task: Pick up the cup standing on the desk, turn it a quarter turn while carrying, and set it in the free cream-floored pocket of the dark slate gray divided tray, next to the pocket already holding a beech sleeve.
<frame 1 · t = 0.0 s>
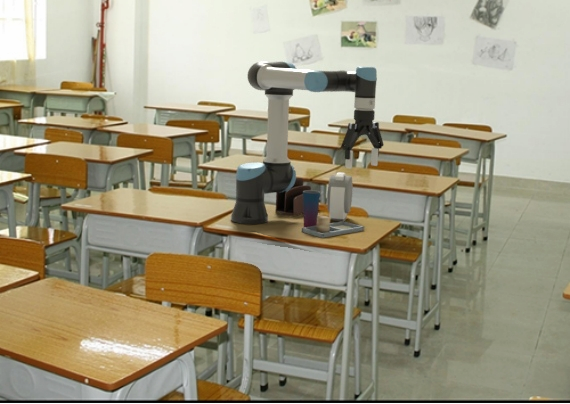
hand: (361, 166, 297), 28 cm above the table, fingers open, 13 cm apart
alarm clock: (338, 220, 336), on the table
letter holder: (297, 211, 352), on the table
beech sleeve: (322, 232, 308), point 1 cm above the table, touching gray divided tray
gray divided tray: (332, 233, 312), on the table
cup: (310, 229, 319), on the table
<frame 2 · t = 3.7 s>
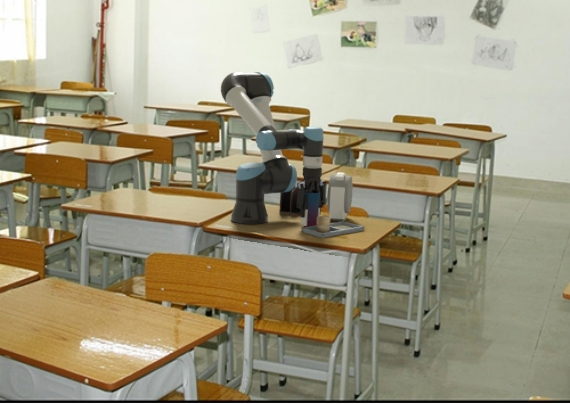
hand: (310, 224, 318), 2 cm above the table, fingers closed on cup, 6 cm apart
cup: (310, 229, 319), on the table, touching gripper
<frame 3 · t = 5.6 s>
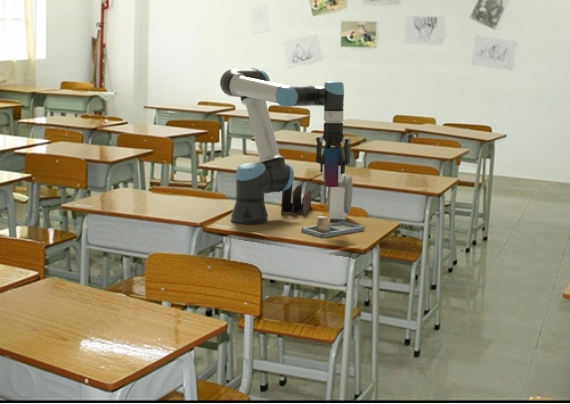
hand: (332, 181, 312), 20 cm above the table, fingers closed on cup, 6 cm apart
cup: (332, 186, 312), point 18 cm above the table, touching gripper
when the fingers open (5 cm above the table, at t = 7.9 s): cup drops 1 cm, resting on gray divided tray.
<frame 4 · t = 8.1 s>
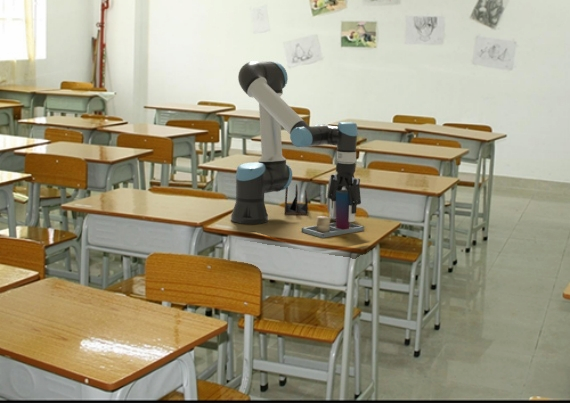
hand: (343, 219, 314), 5 cm above the table, fingers open, 8 cm apart
cup: (342, 229, 315), point 1 cm above the table, touching gray divided tray
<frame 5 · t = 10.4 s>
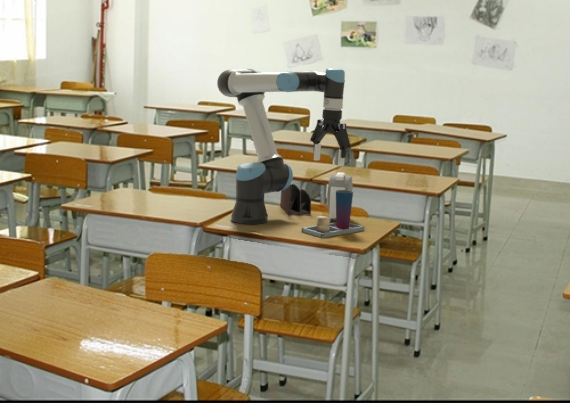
hand: (328, 163, 314), 26 cm above the table, fingers open, 13 cm apart
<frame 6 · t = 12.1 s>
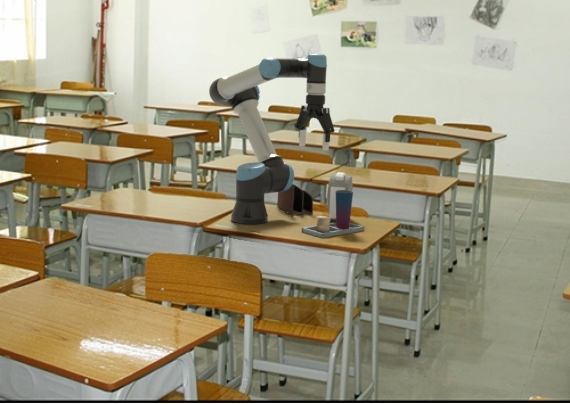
hand: (313, 148, 317), 32 cm above the table, fingers open, 13 cm apart
at the end: cup 0.2 cm from the target spot, point 1.0 cm above the table; cup tilted 0°; beech sleeve moved 0.1 cm from its start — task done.
